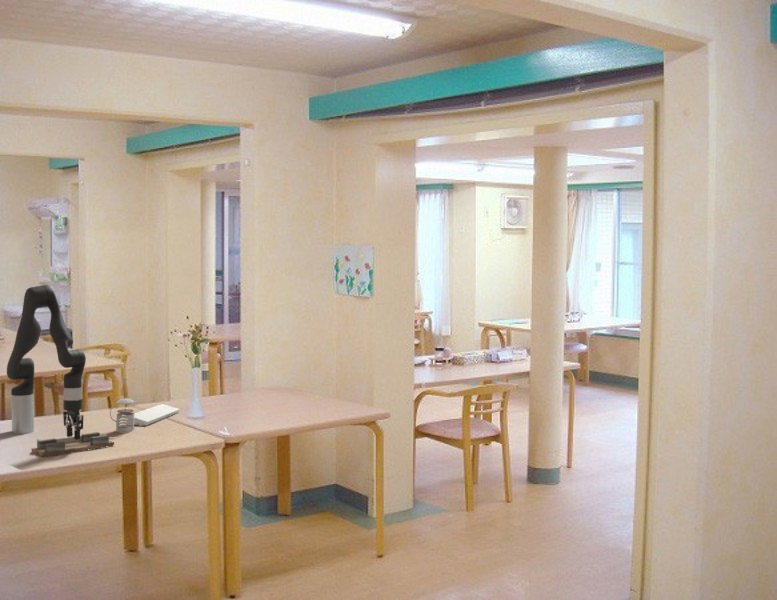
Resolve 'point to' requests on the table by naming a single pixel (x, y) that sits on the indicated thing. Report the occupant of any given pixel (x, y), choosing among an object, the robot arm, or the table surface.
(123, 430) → the french press
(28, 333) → the robot arm
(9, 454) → the table surface
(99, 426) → the table surface
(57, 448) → the dark brown long fixture
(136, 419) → the decorative molding
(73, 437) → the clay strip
